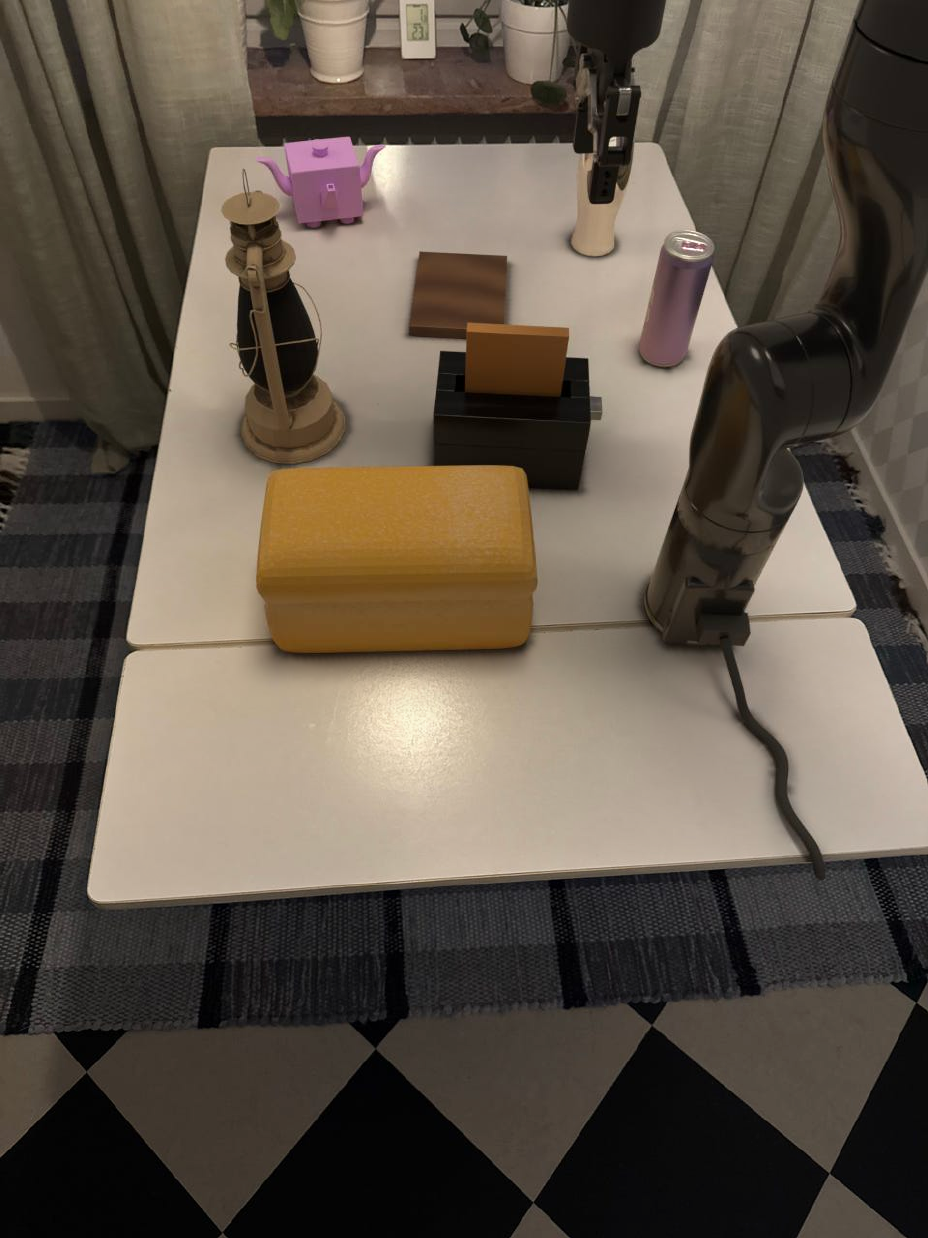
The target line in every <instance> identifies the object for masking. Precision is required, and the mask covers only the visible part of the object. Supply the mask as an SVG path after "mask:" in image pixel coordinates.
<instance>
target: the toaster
mask: <svg viewBox="0 0 928 1238" xmlns="http://www.w3.org/2000/svg"><path fill="white" fill-rule="evenodd" d="M437 367H438V369H437V376H436V386H435V394H434V395H435V396H434V404H433V413H432V416H433V417H432V421H433V422H432V423H433V425H432V426H433V429H432V430H433V466H471V465H500V466H515V467H518V468H522V469H523V470H524V472H525V473H526V477H527V483H528V489H543V490H544V489H545V490H564V491H579V488H580V483H581V478H582V473H583V469H584V463H585V457H586V452H587V448H588V447H587V446H588V441H589V437H590V431H591V425H592V421H602V417H603V412H604V411H603V397H602V396H593V395H591V389H590V364H589V358H588V357H569V356H566V362H565V369H564V376H563V383H562V390H561V396H560V397H552V396H532V395H513V394H494V393H474V392H465V371H466V351H456V350H455V351H454V350H452V351H451V350H440V351H439V358H438V365H437Z"/></svg>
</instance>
